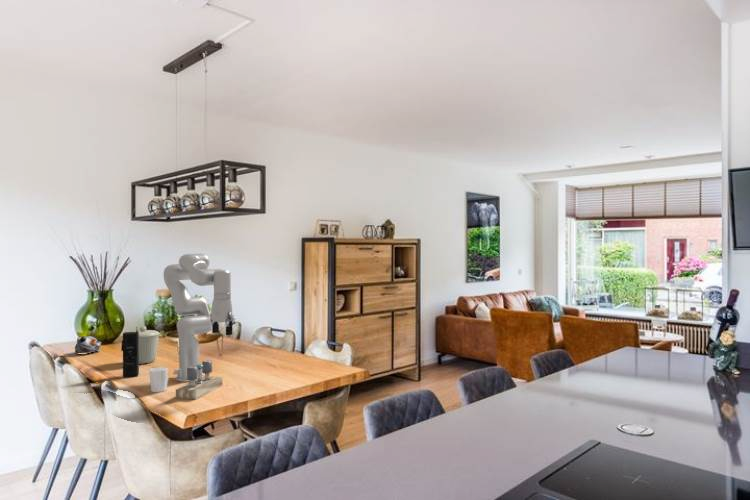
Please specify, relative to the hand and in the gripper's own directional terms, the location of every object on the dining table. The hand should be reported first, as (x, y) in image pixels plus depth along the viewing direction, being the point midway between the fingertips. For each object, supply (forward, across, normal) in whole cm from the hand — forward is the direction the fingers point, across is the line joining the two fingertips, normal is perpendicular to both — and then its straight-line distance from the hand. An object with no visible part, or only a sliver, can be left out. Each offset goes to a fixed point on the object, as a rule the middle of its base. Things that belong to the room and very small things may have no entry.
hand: (222, 333), depth 224 cm
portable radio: (+27, -63, -10) cm, 69 cm away
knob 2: (+23, -10, -1) cm, 25 cm away
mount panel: (+26, -8, -7) cm, 28 cm away
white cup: (+27, -25, -16) cm, 40 cm away
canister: (+27, -86, +11) cm, 91 cm away
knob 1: (+23, -5, -12) cm, 27 cm away
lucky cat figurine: (+28, -140, +5) cm, 143 cm away
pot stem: (+22, -8, -7) cm, 25 cm away
